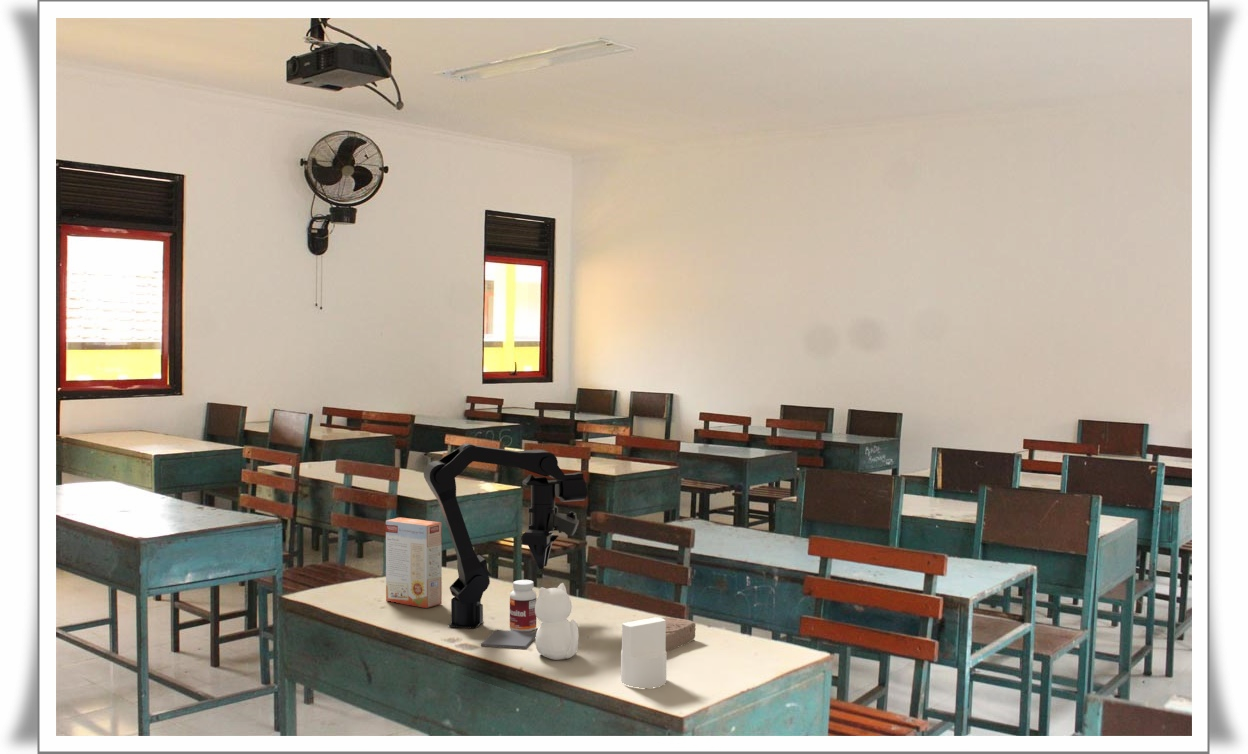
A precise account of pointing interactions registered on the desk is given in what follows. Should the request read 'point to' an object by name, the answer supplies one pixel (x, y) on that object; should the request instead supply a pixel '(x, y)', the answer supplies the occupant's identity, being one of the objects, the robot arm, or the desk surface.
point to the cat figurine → (555, 624)
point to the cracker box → (413, 562)
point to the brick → (678, 632)
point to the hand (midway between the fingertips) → (542, 567)
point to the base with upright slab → (644, 653)
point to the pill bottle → (523, 606)
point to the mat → (509, 639)
